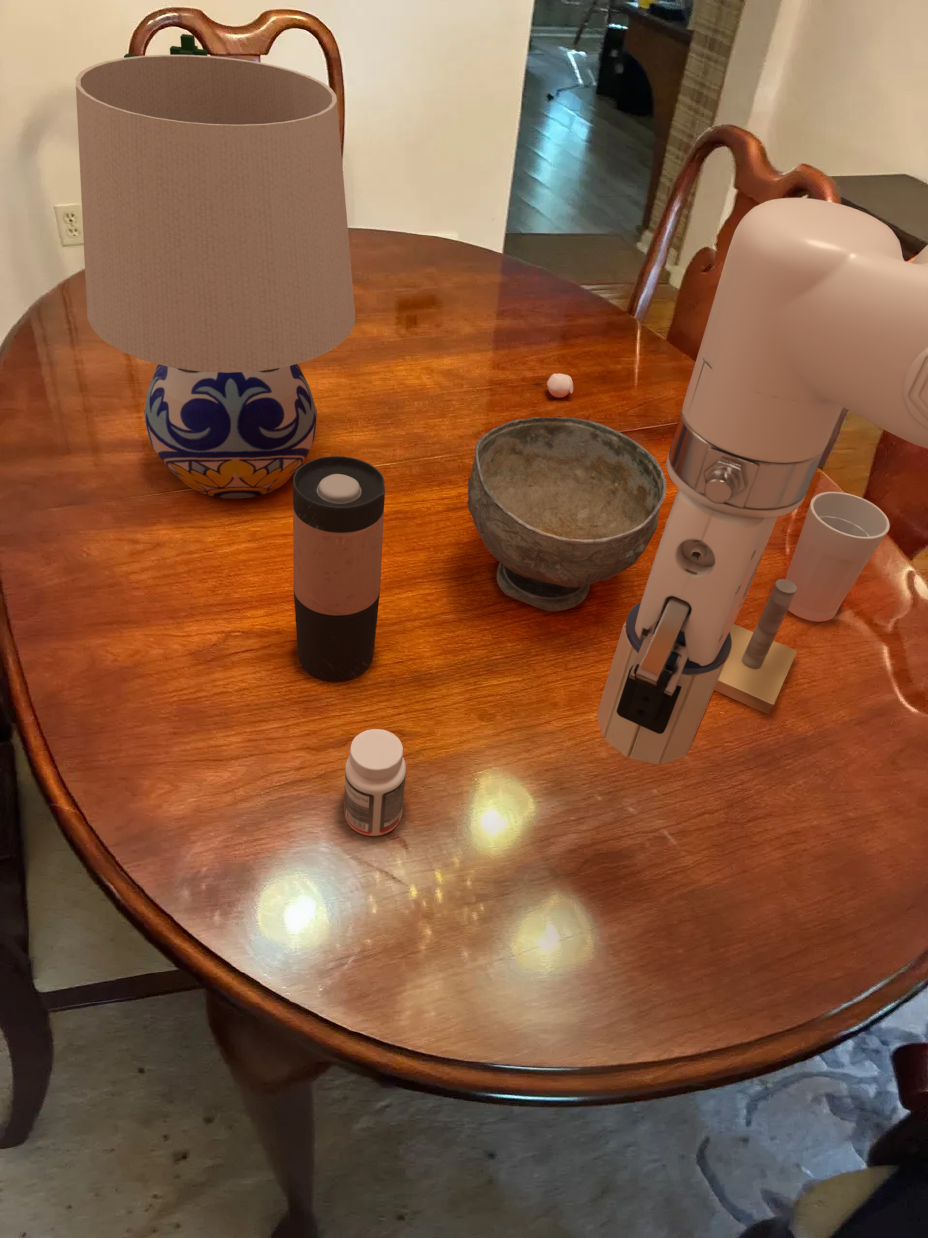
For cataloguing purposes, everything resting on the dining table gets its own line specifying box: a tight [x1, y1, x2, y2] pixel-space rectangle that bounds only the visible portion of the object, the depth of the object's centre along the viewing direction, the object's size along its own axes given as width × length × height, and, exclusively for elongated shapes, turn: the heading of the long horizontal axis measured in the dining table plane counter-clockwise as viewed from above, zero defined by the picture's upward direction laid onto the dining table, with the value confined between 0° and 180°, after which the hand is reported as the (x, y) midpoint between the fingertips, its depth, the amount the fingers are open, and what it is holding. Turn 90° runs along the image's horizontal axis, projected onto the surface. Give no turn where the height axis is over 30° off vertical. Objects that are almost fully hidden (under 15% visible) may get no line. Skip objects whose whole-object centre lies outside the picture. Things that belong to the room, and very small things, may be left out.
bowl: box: [466, 416, 668, 612], centre depth 94 cm, size 20×19×15 cm
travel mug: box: [292, 455, 386, 683], centre depth 81 cm, size 8×8×20 cm
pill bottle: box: [343, 728, 407, 837], centre depth 73 cm, size 5×5×8 cm
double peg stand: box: [714, 578, 798, 716], centre depth 90 cm, size 14×9×12 cm, turn 60°
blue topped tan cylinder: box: [596, 601, 732, 766], centre depth 61 cm, size 7×7×9 cm
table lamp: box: [75, 54, 356, 500], centre depth 96 cm, size 27×27×40 cm
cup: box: [784, 491, 891, 623], centre depth 98 cm, size 8×8×12 cm
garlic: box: [546, 373, 574, 398], centre depth 129 cm, size 5×3×5 cm
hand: (660, 683), depth 61 cm, fingers closed on blue topped tan cylinder, 7 cm apart
